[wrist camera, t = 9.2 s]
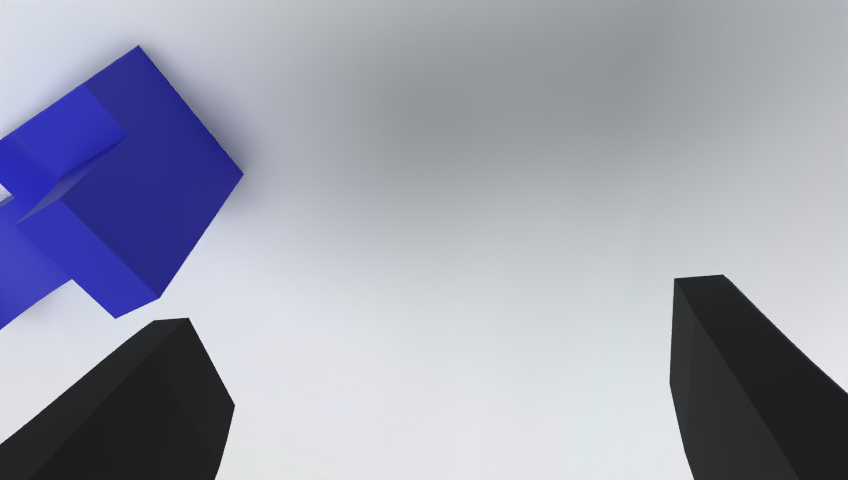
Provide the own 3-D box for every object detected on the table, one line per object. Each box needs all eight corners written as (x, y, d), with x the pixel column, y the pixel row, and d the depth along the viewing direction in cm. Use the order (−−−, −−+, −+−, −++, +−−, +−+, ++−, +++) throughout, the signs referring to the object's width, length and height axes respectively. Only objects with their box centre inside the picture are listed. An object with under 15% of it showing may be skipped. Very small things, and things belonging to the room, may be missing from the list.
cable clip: (141, 43, 17) (0, 140, 12) (245, 171, 19) (159, 298, 14) (-101, 209, 22) (-276, 330, 17) (5, 299, 24) (-124, 430, 19)
